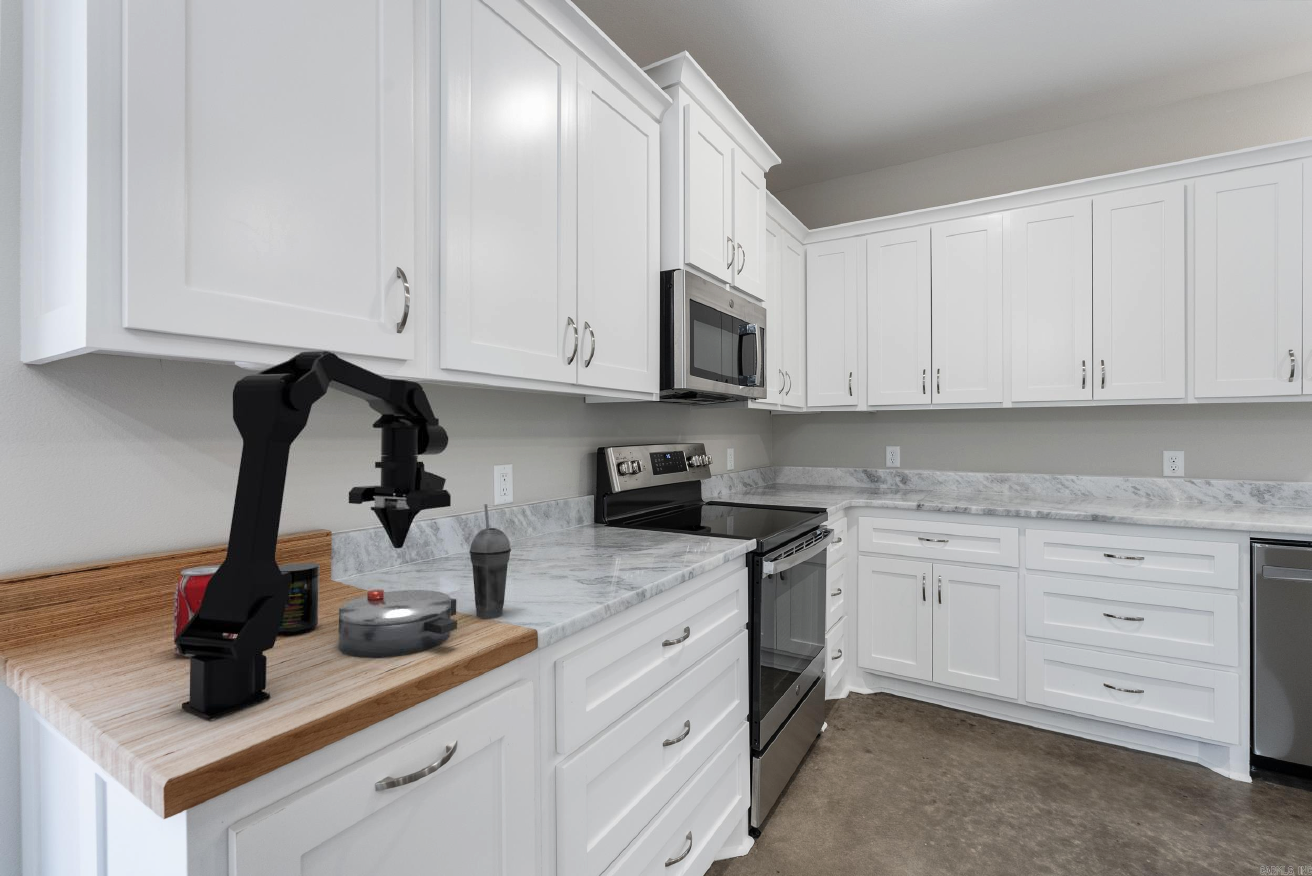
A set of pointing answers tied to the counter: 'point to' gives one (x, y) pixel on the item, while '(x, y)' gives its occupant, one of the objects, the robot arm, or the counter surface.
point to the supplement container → (301, 599)
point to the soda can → (191, 597)
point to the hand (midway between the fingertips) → (398, 547)
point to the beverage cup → (489, 570)
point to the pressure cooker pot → (396, 636)
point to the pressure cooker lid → (394, 607)
